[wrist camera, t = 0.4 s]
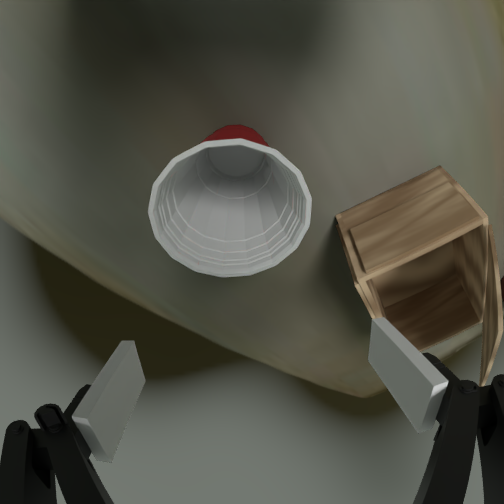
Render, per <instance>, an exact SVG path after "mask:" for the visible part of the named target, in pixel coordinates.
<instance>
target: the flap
mask: <svg viewBox="0 0 504 504" xmlns="http://www.w3.org/2000/svg"><path fill="white" fill-rule="evenodd" d="M502 333H503V312H502V296H501V284H500V275H499V267H498V259H497V253H496V247H495V241H494V235H493V230H492V225H488V265H487V284H486V296H485V306H484V315H483V330H482V356H481V371H480V380H479V387H481V386H485V383H486V381H487V378H488V375H489V373H490V370H491V367H492V365H493V362H494V359H495V356H496V353H497V349H498V347H499V343H500V340H501V336H502Z"/></svg>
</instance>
